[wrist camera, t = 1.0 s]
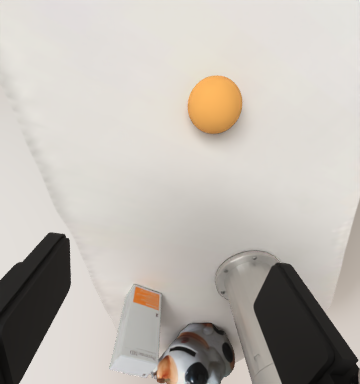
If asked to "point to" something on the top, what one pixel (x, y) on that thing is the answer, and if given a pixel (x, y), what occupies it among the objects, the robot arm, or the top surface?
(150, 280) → the top surface
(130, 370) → the skincare box
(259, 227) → the top surface
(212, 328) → the lucky cat figurine
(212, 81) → the ball
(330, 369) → the robot arm
